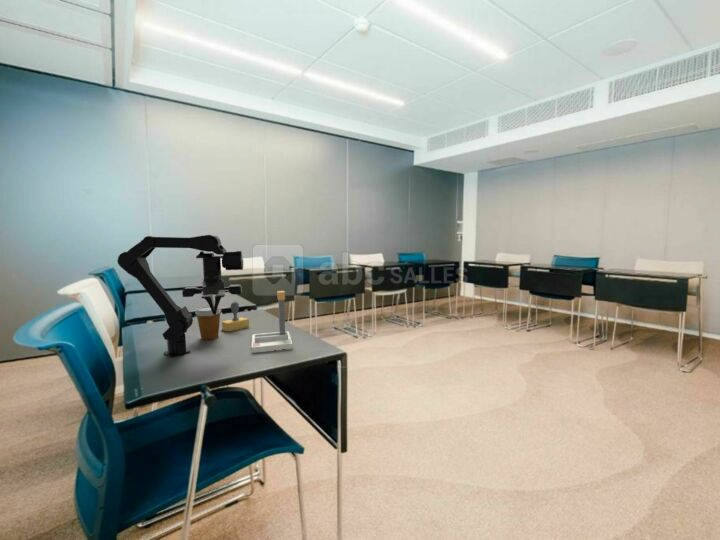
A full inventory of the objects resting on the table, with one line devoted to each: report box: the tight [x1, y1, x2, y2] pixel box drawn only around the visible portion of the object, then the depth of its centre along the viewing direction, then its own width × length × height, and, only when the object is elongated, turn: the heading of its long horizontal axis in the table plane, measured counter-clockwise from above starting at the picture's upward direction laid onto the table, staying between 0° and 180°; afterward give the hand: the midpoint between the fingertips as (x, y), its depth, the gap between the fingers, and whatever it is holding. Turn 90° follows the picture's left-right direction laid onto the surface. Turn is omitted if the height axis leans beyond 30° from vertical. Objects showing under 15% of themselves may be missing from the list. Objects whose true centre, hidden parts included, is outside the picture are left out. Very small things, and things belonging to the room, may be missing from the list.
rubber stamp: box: [221, 301, 250, 332], centre depth 146 cm, size 10×6×12 cm, turn 140°
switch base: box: [251, 330, 293, 354], centre depth 125 cm, size 14×16×4 cm
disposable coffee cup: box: [194, 305, 222, 341], centre depth 133 cm, size 10×10×12 cm
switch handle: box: [276, 290, 286, 335], centre depth 126 cm, size 3×3×18 cm
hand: (214, 314), depth 118 cm, fingers closed
